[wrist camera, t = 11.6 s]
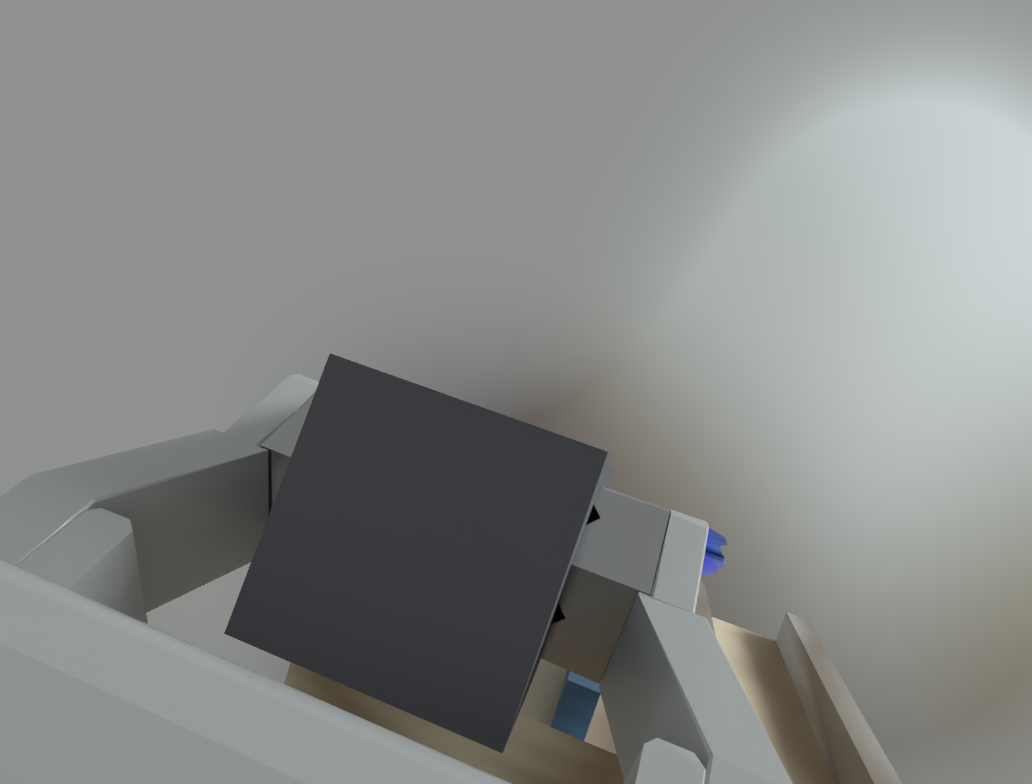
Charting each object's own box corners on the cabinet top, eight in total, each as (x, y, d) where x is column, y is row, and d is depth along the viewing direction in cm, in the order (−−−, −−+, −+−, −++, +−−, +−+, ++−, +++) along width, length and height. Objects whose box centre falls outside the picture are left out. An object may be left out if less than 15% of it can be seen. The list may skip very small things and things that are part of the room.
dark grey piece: (587, 547, 28) (614, 470, 28) (502, 752, 7) (608, 452, 7) (511, 518, 28) (538, 443, 28) (224, 633, 8) (329, 353, 8)
